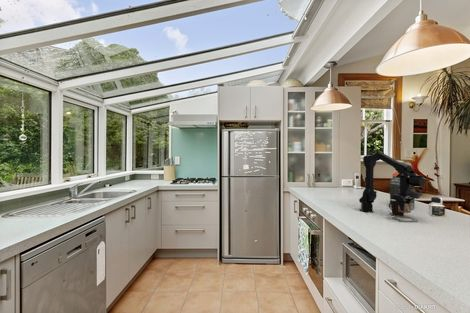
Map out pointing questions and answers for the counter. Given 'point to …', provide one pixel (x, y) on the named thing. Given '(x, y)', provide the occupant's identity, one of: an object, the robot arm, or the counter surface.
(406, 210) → the letter block
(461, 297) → the counter surface
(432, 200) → the medicine bottle
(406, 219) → the pad
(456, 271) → the counter surface
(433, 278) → the counter surface
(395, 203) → the coffee mug
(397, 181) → the supplement tub
